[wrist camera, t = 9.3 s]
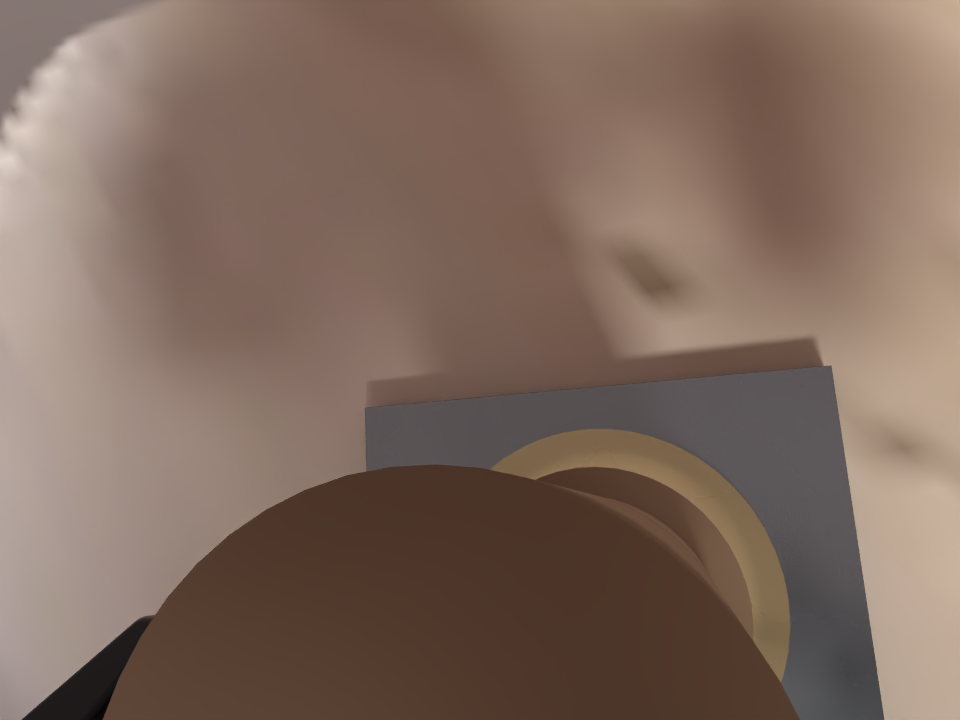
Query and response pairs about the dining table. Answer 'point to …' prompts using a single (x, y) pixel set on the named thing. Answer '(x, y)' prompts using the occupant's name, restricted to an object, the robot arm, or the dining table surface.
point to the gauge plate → (700, 495)
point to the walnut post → (460, 608)
